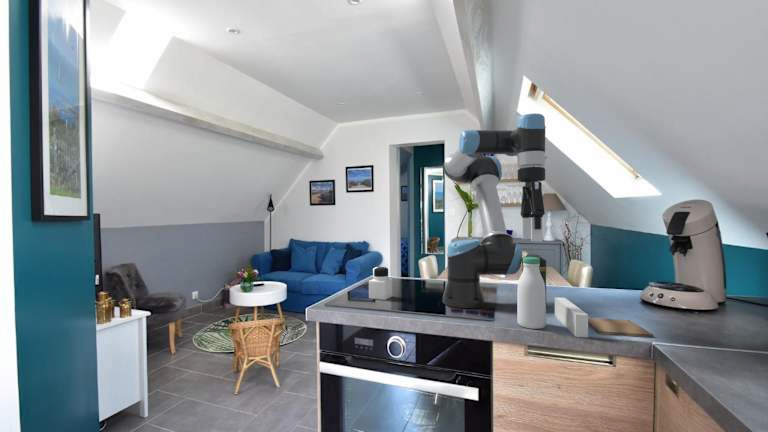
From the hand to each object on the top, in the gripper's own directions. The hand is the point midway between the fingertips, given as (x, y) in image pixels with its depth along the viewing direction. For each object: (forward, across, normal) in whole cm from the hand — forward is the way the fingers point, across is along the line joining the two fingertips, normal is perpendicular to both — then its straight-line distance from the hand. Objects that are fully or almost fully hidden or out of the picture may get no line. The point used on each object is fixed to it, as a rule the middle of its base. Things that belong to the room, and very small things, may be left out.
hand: (531, 240), depth 103 cm
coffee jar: (+25, +21, -5) cm, 33 cm away
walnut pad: (+25, +2, -23) cm, 34 cm away
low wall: (+25, +2, -11) cm, 27 cm away
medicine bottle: (+25, +26, +51) cm, 63 cm away
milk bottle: (+25, 0, 0) cm, 25 cm away
